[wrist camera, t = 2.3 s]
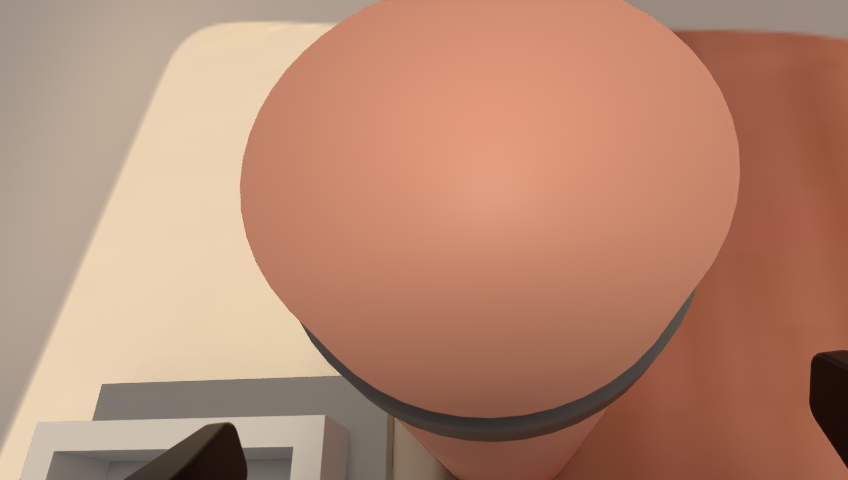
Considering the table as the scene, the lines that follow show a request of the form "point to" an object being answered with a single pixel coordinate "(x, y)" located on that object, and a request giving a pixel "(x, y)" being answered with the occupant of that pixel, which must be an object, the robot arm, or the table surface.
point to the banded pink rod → (491, 213)
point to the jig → (214, 403)
